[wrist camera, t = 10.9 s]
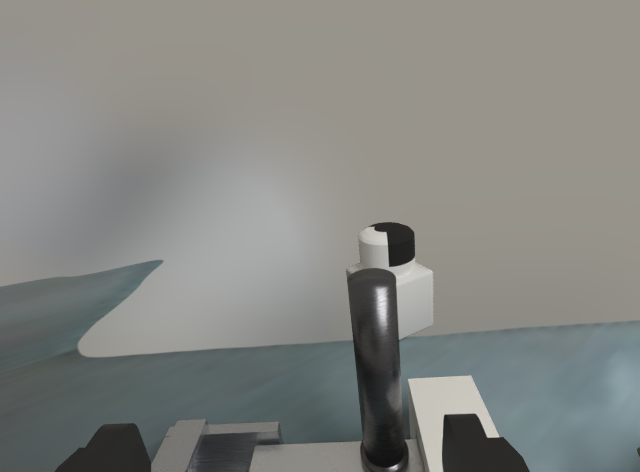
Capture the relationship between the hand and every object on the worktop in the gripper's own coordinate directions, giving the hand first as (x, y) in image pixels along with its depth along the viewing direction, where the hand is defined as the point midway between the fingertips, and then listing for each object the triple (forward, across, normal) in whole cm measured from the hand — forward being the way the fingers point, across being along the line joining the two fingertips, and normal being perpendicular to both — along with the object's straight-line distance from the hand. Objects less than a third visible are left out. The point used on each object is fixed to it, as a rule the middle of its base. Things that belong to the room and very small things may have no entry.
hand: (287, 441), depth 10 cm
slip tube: (+12, -2, +20) cm, 23 cm away
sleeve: (+12, +9, +20) cm, 25 cm away
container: (+34, -7, +21) cm, 40 cm away
